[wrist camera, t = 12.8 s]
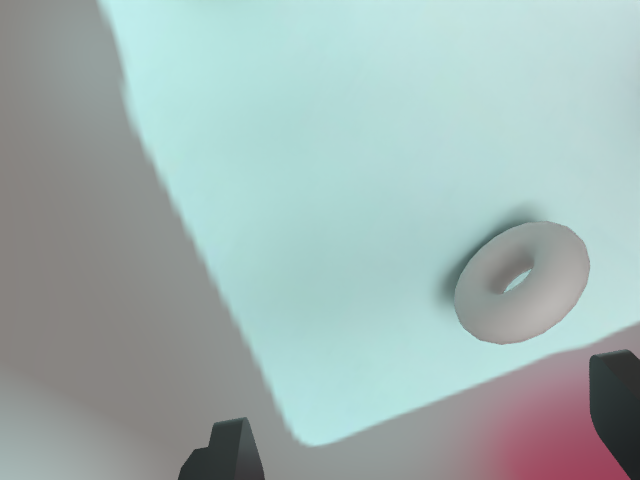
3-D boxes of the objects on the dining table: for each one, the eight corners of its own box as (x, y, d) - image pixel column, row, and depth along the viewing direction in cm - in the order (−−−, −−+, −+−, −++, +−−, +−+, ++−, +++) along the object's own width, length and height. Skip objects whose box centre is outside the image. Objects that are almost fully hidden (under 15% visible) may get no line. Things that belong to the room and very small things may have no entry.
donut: (455, 312, 43) (508, 381, 34) (428, 286, 42) (474, 349, 33) (550, 226, 42) (633, 273, 32) (524, 197, 41) (601, 236, 31)
